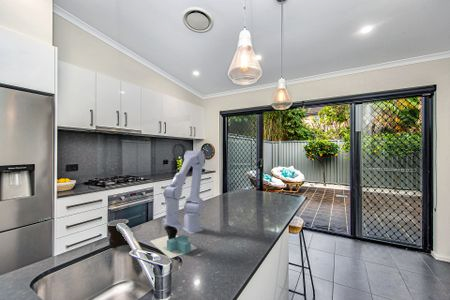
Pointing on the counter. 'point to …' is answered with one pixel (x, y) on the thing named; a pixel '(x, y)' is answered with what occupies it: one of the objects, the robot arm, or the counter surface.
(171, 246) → the tee block
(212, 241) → the counter surface
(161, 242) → the mat
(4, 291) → the counter surface
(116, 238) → the coffee mug
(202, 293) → the counter surface
